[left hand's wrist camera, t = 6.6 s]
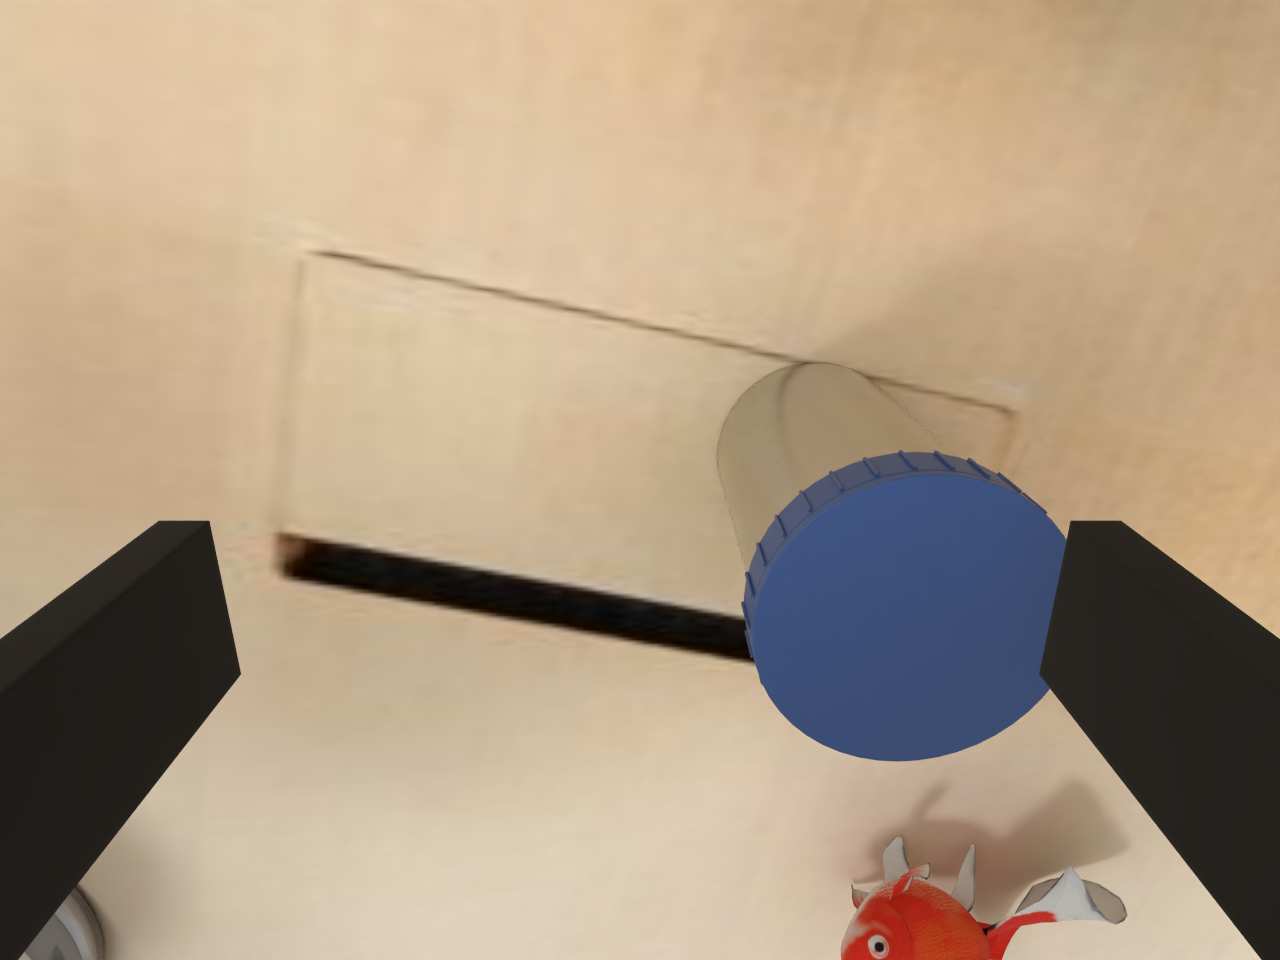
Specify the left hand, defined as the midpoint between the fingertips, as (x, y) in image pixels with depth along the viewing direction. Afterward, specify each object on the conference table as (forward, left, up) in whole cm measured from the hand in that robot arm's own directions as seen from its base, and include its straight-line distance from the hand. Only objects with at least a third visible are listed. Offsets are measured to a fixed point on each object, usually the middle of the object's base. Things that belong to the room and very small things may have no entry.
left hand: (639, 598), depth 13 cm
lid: (+2, -10, -9) cm, 14 cm away
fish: (-6, -35, -24) cm, 43 cm away
